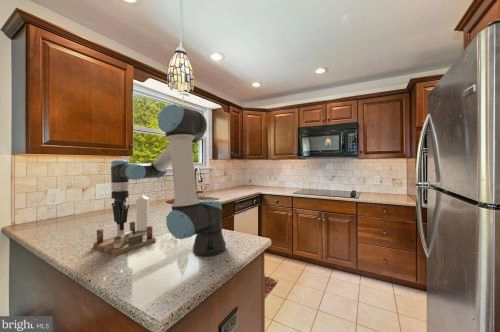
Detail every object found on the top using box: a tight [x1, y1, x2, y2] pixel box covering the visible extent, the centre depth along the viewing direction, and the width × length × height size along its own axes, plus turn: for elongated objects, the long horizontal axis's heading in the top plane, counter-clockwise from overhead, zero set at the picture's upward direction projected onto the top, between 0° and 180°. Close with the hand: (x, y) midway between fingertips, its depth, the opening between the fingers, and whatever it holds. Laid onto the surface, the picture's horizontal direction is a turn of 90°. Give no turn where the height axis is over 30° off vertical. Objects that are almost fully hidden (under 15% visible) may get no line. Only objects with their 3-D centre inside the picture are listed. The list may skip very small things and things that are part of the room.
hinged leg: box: [114, 230, 133, 248], centre depth 101 cm, size 12×3×5 cm, turn 2°
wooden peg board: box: [93, 221, 157, 257], centre depth 106 cm, size 20×20×8 cm
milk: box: [135, 193, 151, 232], centre depth 130 cm, size 6×6×22 cm
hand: (120, 236), depth 108 cm, fingers closed
